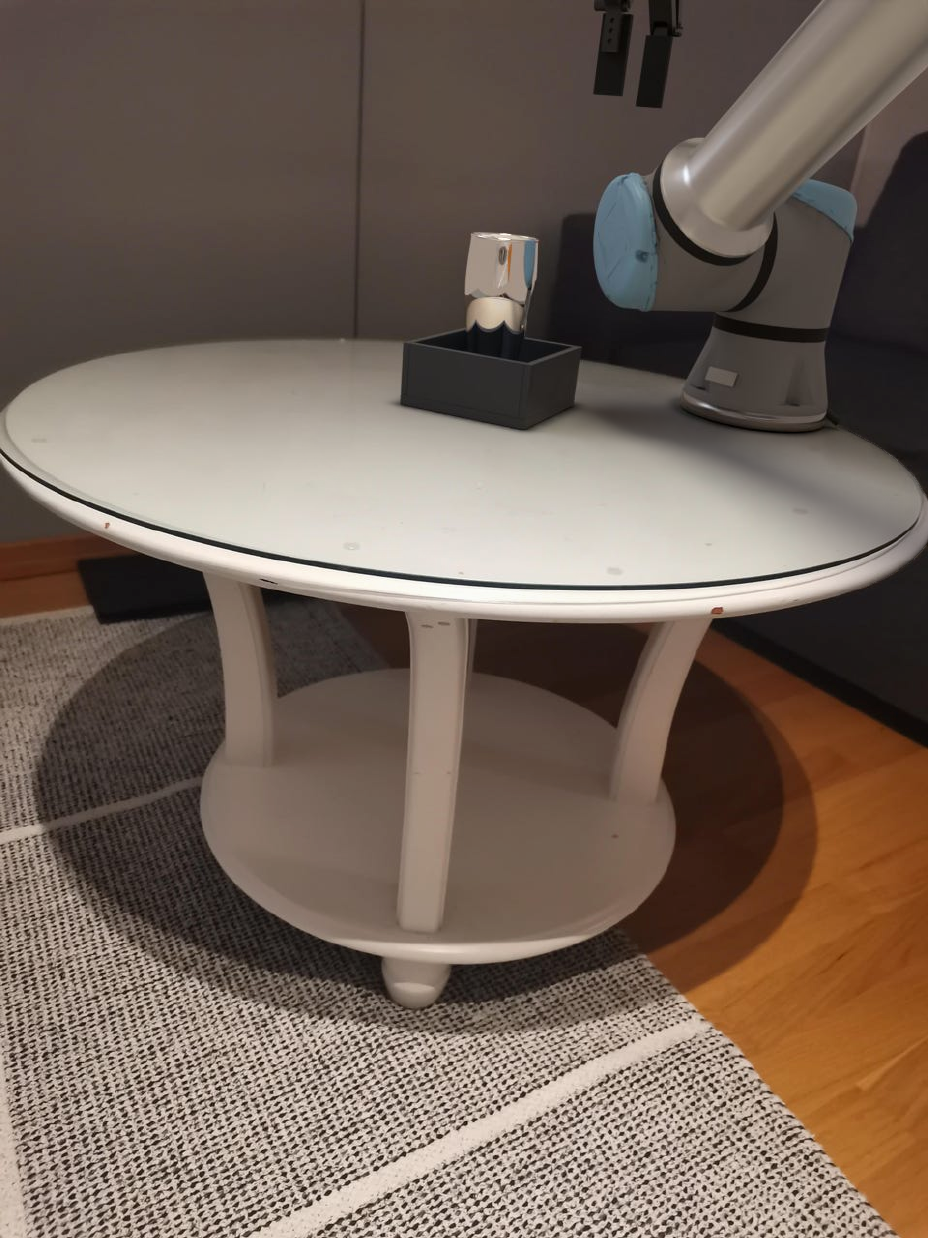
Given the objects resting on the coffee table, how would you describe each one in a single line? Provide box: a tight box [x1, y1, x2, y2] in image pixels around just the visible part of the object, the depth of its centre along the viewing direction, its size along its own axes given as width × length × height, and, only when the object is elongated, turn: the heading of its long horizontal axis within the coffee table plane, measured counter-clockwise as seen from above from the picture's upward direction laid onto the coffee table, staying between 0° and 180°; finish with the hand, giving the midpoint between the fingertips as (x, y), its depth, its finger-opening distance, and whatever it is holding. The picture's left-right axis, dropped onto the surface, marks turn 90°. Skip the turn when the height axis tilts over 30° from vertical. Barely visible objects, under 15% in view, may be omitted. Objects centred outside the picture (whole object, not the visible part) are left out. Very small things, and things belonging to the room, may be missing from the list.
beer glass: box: [463, 231, 540, 361], centre depth 92 cm, size 7×7×15 cm
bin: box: [399, 326, 583, 431], centre depth 95 cm, size 13×13×6 cm
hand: (629, 101), depth 95 cm, fingers open, 13 cm apart
